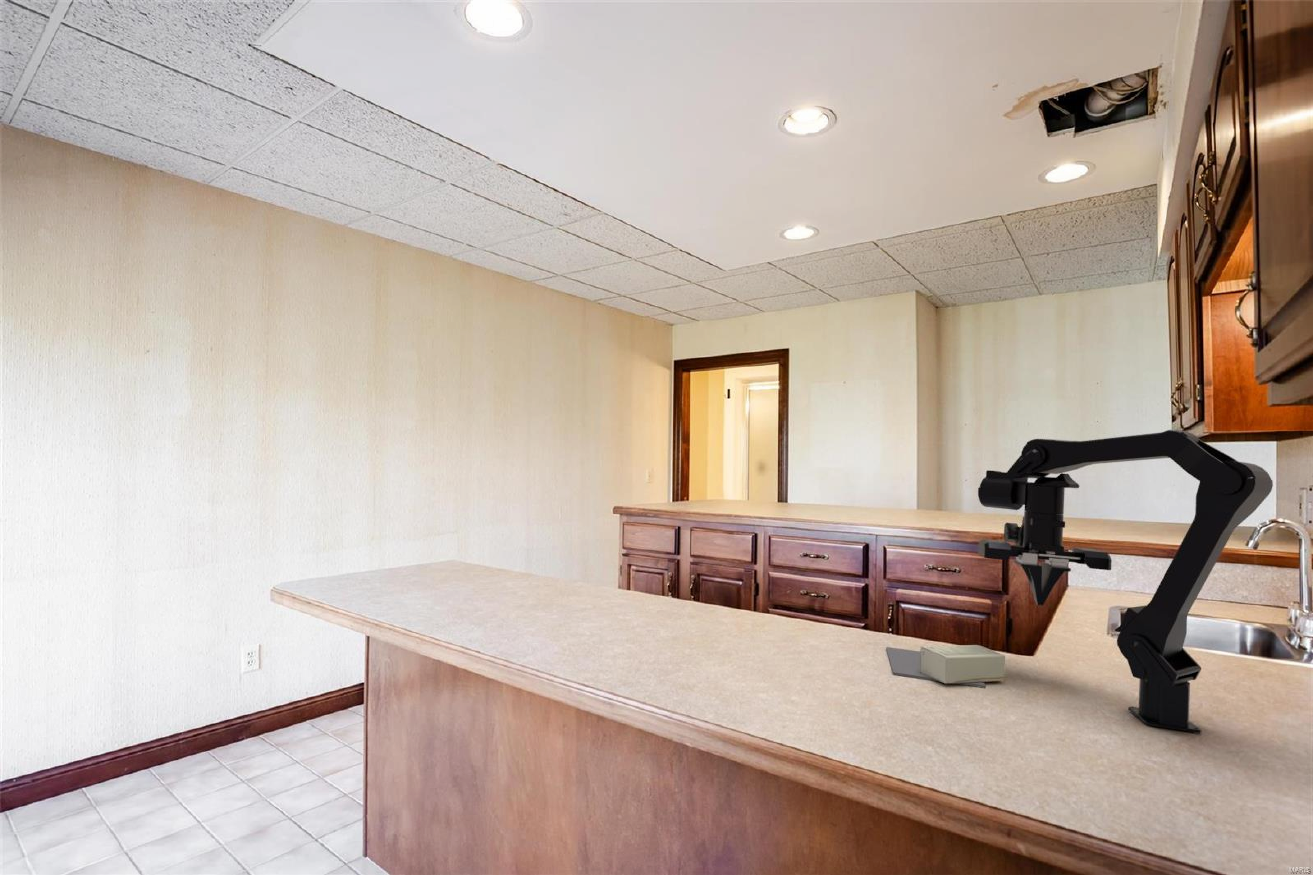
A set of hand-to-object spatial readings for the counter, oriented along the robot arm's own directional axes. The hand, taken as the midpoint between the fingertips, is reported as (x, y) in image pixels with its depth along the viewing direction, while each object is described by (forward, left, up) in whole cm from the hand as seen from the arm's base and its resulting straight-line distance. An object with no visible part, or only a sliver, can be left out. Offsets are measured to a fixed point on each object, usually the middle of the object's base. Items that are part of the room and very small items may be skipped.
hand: (1039, 605), depth 107 cm
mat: (0, +16, -13) cm, 21 cm away
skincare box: (-1, +7, -10) cm, 13 cm away
